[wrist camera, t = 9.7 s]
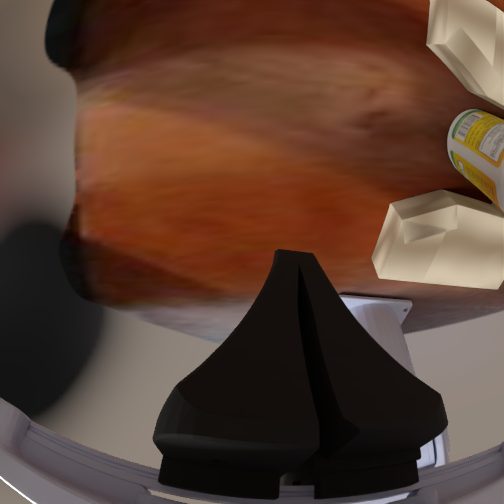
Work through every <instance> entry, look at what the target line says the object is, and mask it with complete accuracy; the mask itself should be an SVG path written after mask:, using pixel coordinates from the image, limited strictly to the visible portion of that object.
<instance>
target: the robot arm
mask: <svg viewBox="0 0 504 504" xmlns="http://www.w3.org/2000/svg"><path fill="white" fill-rule="evenodd" d="M412 305H413V304H412V302H411V301H410V300H400V299H387V298H374V297H362V296H351V295H338V293H337V292H336V290H335V289H334V287H333V285H332V284H331V282H330V281H329V279H328V278H327V276H326V274H325V273H324V271H323V269H322V268H321V266H320V264H319V262H318V261H317V259H316V257H315V256H314V254H313V253H307V252H299V251H290V250H282V249H278V250H276V251H275V253H274V260H273V265H272V268H271V271H270V273H269V275H268V277H267V280H266V282H265V284H264V286H263V288H262V290H261V291H260V293H259V295H258V297H257V298H256V300H255V302H254V303H253V305H252V306H251V308H250V309H249V311H248V312H247V314H246V315H245V317H244V318H243V319H242V321H241V322H240V323H239V325H238V326H237V327H236V328H235V329H234V331H233V332H232V333H231V334H230V335H229V337H228V338H227V339H226V340H225V341H224V342H223V343H222V344H221V345H220V346H219V347H218V348H217V349H216V350H215V352H213V353H212V354H211V355H210V357H208V358H207V359H206V360H205V361H204V362H203V363H202V364H201V365H200V366H199V367H197V368H196V369H195V370H194V371H193V372H191V373H190V374H189V375H188V376H187V377H185V378H184V379H183V380H182V381H180V382H179V383H178V384H177V385H176V386H175V387H174V389H173V390H172V392H171V394H170V395H169V397H168V398H167V400H166V402H165V404H164V406H163V408H162V410H161V412H160V414H159V417H158V419H157V423H156V427H155V431H154V435H153V442H154V443H155V445H156V446H157V448H158V449H159V450H160V452H161V453H162V455H163V459H162V463H161V468H160V470H159V469H155V468H151V467H147V466H144V465H140V464H137V463H133V462H130V461H127V460H124V459H120V458H117V457H114V456H111V455H108V454H106V453H103V452H100V451H97V450H95V449H92V448H89V447H87V446H84V445H82V444H79V443H77V442H75V441H72V440H70V439H67V438H66V437H63V436H61V435H59V434H57V433H55V432H53V431H51V430H48V429H46V428H44V427H42V426H40V425H39V424H37V423H35V422H33V421H31V420H30V419H29V418H28V417H27V416H26V415H25V414H24V413H23V412H21V411H20V410H19V409H17V408H16V407H14V406H13V405H11V404H9V403H7V402H6V401H5V400H3V399H1V398H0V478H1V479H2V480H3V481H4V482H6V483H7V484H8V485H9V486H11V487H12V488H13V489H15V490H16V491H17V492H18V493H20V494H21V495H22V496H24V497H25V498H26V499H28V500H30V501H31V502H32V503H34V504H187V503H182V502H178V501H174V500H170V499H166V498H162V497H158V496H155V495H151V493H150V491H149V490H148V489H150V490H154V491H158V492H162V493H166V494H171V495H176V496H180V497H185V498H190V499H196V500H202V501H209V502H215V503H222V504H504V442H502V443H501V444H500V445H498V446H495V447H493V448H491V449H488V450H486V451H483V452H481V453H478V454H475V455H473V456H470V457H467V458H464V459H461V460H458V461H455V462H451V463H449V438H448V430H447V425H448V420H447V415H446V412H445V407H444V404H443V400H442V397H441V394H439V393H438V392H437V391H435V390H434V389H432V388H431V387H429V386H428V385H427V384H425V383H424V382H422V381H421V380H419V379H418V378H417V377H416V376H415V372H414V369H413V365H412V362H411V358H410V355H409V351H408V348H407V345H406V342H405V339H404V335H403V332H402V329H401V324H402V323H403V321H404V319H405V318H406V316H407V314H408V313H409V311H410V309H411V307H412Z"/></svg>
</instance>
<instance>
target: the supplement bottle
mask: <svg viewBox="0 0 504 504" xmlns="http://www.w3.org/2000/svg"><path fill="white" fill-rule="evenodd" d="M447 148H448V154H449V157H450V159H451V162H452V163H453V165H454V167H455V168H456V169H457V170H458V171H459V172H460V173H461V174H462V175H463V176H465V177H466V178H467V179H468V180H469V181H470V182H472V183H473V184H474V185H475V186H476V187H477V188H478V189H480V190H481V191H482V192H483V193H484V194H485V195H486V196H487V197H488V198H489V199H490V200H491V201H493V202H494V203H495V204H496V205H497V206H498V207H499V208H500V209H501V210H502V211H503V212H504V120H503V119H500V118H498V117H496V116H494V115H491V114H489V113H487V112H484V111H482V110H478V109H469V110H466V111H464V112H462V113H461V114H459V115H458V116H457V117H456V118H455V120H454V121H453V123H452V125H451V127H450V129H449V133H448V138H447Z"/></svg>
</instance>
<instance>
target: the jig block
mask: <svg viewBox="0 0 504 504" xmlns="http://www.w3.org/2000/svg"><path fill="white" fill-rule="evenodd" d="M426 45H427V46H428V47H429V48H430V49H431V50H432V51H433V52H434V53H435V54H436V55H437V56H438V57H439V58H440V59H441V60H442V61H443V62H444V64H445V65H446V66H447V67H448V68H449V69H450V70H451V71H452V72H453V74H454V75H455V76H456V77H457V78H458V79H459V81H460V82H461V83H462V84H463V85H464V87H465V88H466V89H467V90H468V91H469V92H471V93H473V94H475V95H477V96H479V97H481V98H483V99H485V100H487V101H488V102H490V103H492V104H494V105H495V106H497V107H499V108H501V109H502V110H504V13H503V12H502V11H501V10H499V9H498V8H496V7H495V6H493V5H492V4H491V3H489V2H488V1H486V0H430V12H429V24H428V34H427V43H426ZM371 259H372V261H373V264H374V266H375V269H376V272H377V274H378V277H379V278H382V279H391V280H401V281H411V282H421V283H431V284H442V285H452V286H463V287H474V288H485V289H496V290H498V288H499V287H500V285H501V283H502V282H503V280H504V212H503V211H502V210H501V209H500V208H499V207H498V206H497V205H496V204H495V203H494V202H492V204H488V203H485V202H482V201H479V200H476V199H473V198H470V197H466V196H463V195H460V194H456V193H453V192H449V191H446V190H442V189H441V190H437V191H433V192H430V193H426V194H422V195H419V196H415V197H411V198H407V199H404V200H400V201H396V202H393V203H390V207H389V210H388V213H387V216H386V219H385V222H384V225H383V227H382V230H381V233H380V236H379V239H378V241H377V244H376V247H375V250H374V252H373V255H372V258H371Z"/></svg>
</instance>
